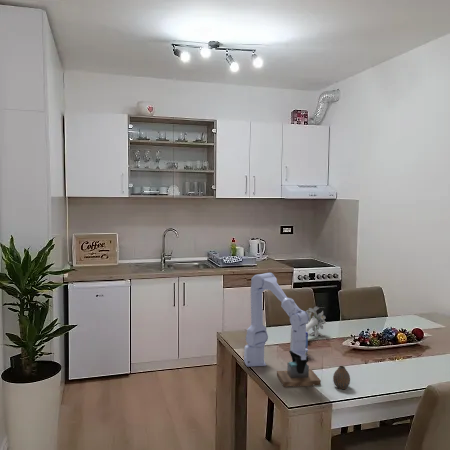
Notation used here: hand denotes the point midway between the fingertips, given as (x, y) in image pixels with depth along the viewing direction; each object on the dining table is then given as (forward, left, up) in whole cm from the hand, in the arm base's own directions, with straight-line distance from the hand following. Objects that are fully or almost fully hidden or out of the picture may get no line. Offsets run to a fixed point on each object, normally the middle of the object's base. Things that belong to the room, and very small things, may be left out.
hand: (298, 370), depth 193 cm
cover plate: (0, 0, +2) cm, 2 cm away
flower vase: (+23, +54, -5) cm, 59 cm away
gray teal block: (0, 0, -2) cm, 2 cm away
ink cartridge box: (+10, +31, -5) cm, 33 cm away
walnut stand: (0, 0, -4) cm, 4 cm away
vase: (+16, -9, -5) cm, 19 cm away
